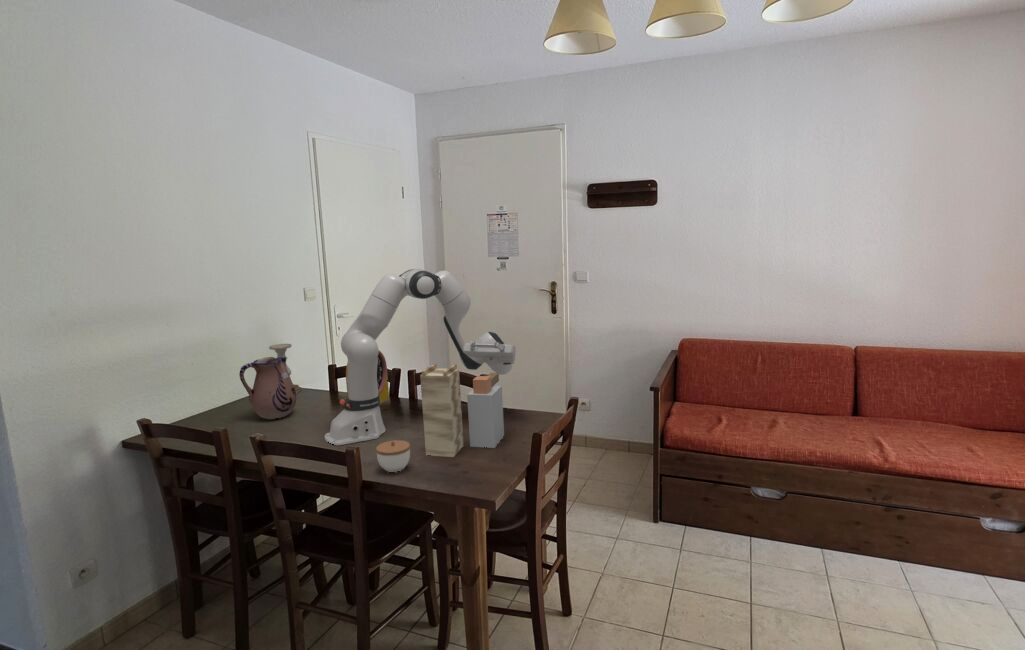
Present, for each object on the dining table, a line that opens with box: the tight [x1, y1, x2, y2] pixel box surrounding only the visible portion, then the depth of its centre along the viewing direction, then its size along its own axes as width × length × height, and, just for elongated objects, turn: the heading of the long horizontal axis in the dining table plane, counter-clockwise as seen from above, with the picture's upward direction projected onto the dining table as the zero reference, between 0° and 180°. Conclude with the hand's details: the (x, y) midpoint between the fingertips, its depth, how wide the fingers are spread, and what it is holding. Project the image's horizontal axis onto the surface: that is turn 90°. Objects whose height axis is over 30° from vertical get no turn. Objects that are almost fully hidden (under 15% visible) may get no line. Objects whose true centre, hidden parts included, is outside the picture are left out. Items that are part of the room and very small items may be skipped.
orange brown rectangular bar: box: [472, 372, 500, 394], centre depth 213 cm, size 18×5×5 cm, turn 165°
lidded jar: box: [375, 439, 411, 473], centre depth 191 cm, size 11×11×9 cm
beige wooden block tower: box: [419, 363, 464, 458], centre depth 203 cm, size 10×10×30 cm
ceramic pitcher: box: [238, 356, 297, 420], centre depth 250 cm, size 18×21×25 cm
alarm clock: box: [345, 350, 390, 404], centre depth 262 cm, size 21×9×26 cm, turn 164°
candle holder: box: [268, 343, 302, 392], centre depth 287 cm, size 11×11×24 cm
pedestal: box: [466, 385, 505, 449], centre depth 211 cm, size 12×9×19 cm
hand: (483, 343), depth 221 cm, fingers open, 8 cm apart
